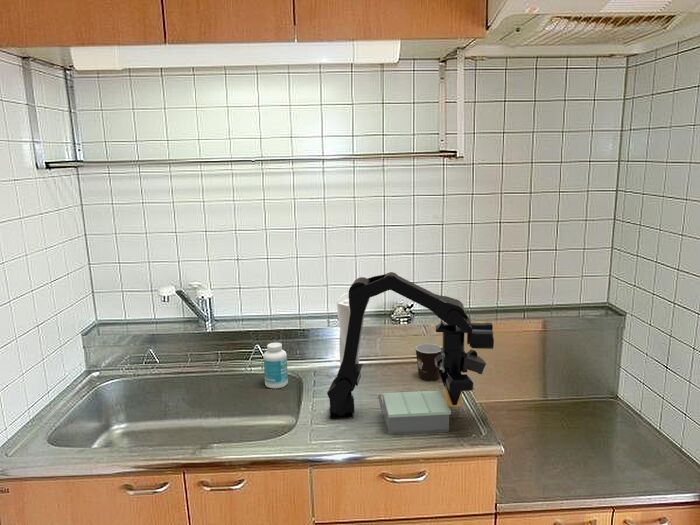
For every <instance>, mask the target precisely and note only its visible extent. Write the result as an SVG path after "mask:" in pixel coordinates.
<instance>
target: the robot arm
mask: <svg viewBox="0 0 700 525" xmlns="http://www.w3.org/2000/svg"><path fill="white" fill-rule="evenodd" d="M387 291H388V292H389V291H392V292H394V293H397V294H398V295H400V296H402V297H404V298H406V299H408V300H410V301H412V302H413V303H416V304H418V305H420V306H422V307H423V308H427V309H428V310H429V311H431V312H432V313H433V314H434V315H435V316H436V317H437V318H439V319H440V320H441V321H440V323H438V324H437V325H436V326H435V332H436V333H442V348H441V353H442V355H437V356H436V357H435V365H436V367H439V364H440V370H438V372H439V377H440V380H441V382H442V384H443V387H444V386H446V389H447V391H448V394H449V397H450V399H451V402H452V404H453V405H457V402H458V400H459V397H460V394H461V391H462V392H469V391H473V390H474V381H473V380H472V378H471V377H470V376H469V375H468V374H464V373H468V372H469V371H470V372H473V373H477V374H478V375H483V372H484V370H485V369H486V368H485V367H486V366H487V362H485V360H484V359H483V358H482V357H480V356H478V352H477V350H478V349H479V350H480V349H482V350H484V349H485V350H493V349H494V345H495V344H494V342H495V341H494V340H495V339H494V330H493V328H494V327H493V323H492V322H484V323H483V322H481V323H480V322H479V323H477V322H472V320H471V318H470V317H469V316H468V315H467V313H466V309H465V306H464V304H463V302H462V301H461V300H459V299H456V298H453V297H451V296H448V295H447V296H446V295H440V294H436V293H434V292H432V291H430V290H428V289H426V288H423V287H421V286H420V285H417V284H416V283H414V282H411V281H410V280H408V279H406V278H404V277H401V276H399V275H398V274H397V273H396V272H393V271H389V272H386V273H384V274H381V275H375V276H371V277H370V276H369V277H368V278H367V277H362V276H361V277H358V278H356V279H355V280H354V281H353V283H352V284H351V286H350V287H349V289H348V293H349V307H350V318H349V324H348V331H347V337H346V344H345V350H344V357H343V361H342V364H340V366H339V370H338V372H337V375H336V377H335V378H334V379H333V380H332V381H331V383H330V386H329V388H328V391H327V392H326V394H327V396H328V400H329V419H331V420H338V419H339V420H340V419H353V418H354V414H355V398H354V395H353V394H352V392H353V391H354V390H355V388H356V387H358V386H359V383H360V380H361V378H362V373H361V371H362V368H363V365H364V364H363V363H359V364H358V358H357V357H358V351H359V352H360V343H361V338H362V337H361V336H362V331H363V326H364V318H365V313H366V310H367V307H368V304H369V302H370V299H371V298H372V297H373V298H374V297H375V296H376V297H377V296H378V295H381V294H383V293H385V292H387ZM465 334H466V345H469V347H470V350H468V351H467V352H466V351H465ZM474 349H477V350H474ZM462 373H463V374H462Z"/></svg>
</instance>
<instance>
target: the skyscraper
mask: <svg viewBox="0 0 700 525" xmlns="http://www.w3.org/2000/svg"><path fill="white" fill-rule="evenodd" d="M346 295H347V298H346V299H344V300H342V301H340V299H341V298H342V297H343V296H346ZM335 304H336V309H337V310H336V312H337V319H338V325H339V330H340V331H339V361H340V365H341V364H342V361H343V357H344V350H345V344H346V337H347V331H348V324H349V318H350V307H349V292H345V293H343V294H341V295H340V296H339V297H338V299H337V301H336V303H335ZM357 358H358V364H360V350H359V351H358V357H357Z"/></svg>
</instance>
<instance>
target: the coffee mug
mask: <svg viewBox="0 0 700 525" xmlns="http://www.w3.org/2000/svg"><path fill="white" fill-rule="evenodd" d="M441 348H443V346H441V345H439V344H434V343H420V344H418V345H416V346H415V348H414V349H415V355H416V364H417V372H418V378H419V379H420V380H421V381H424V382H434V381H437V380H439V377H440V375H439V372H438V370H441V366H440V364H439V367H436V365H435V357H436V356H437V355H442V353H441Z"/></svg>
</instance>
